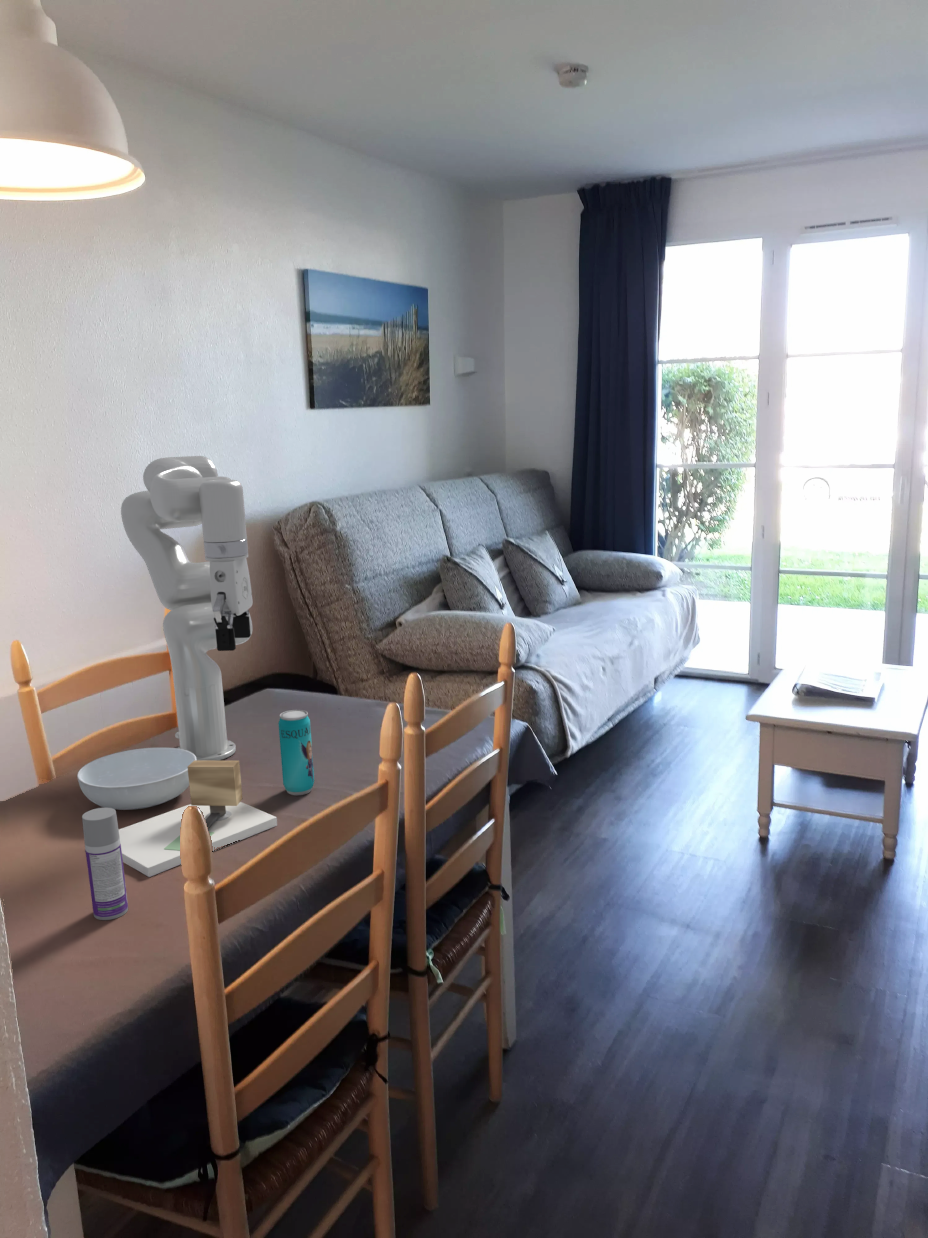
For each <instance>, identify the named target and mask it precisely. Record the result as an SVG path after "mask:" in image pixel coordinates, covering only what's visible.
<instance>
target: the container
mask: <svg viewBox="0 0 928 1238" xmlns="http://www.w3.org/2000/svg"><path fill="white" fill-rule="evenodd" d="M116 810H117V809H113V808H105V807H97V808H94V809H91V810H88V811H86V812H84V813H83V814H82V816H81V819H82V829H83V839H84V851H85V852H84V853H85V858H86V866H87V874H88V881H89V882H88V883H89V891H90V897H91V905H92V912H93V913H92V914H93V917H94V918H95V919H96V920H99V921H111V920H114V919H118V918H120V917H122V916H124V915H125V914H126V913H127V912H128V911H129V903H128V894H127V893H128V892H127V886H126V885H127V884H126V876H125V869H124V862H123V859H122V851H121V843H120V836H119V829H120V828H119V824H118V816H117V811H116Z"/></svg>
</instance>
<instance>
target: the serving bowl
mask: <svg viewBox="0 0 928 1238" xmlns="http://www.w3.org/2000/svg"><path fill="white" fill-rule="evenodd" d="M177 748H178V747H144V748H143V747H142V748H136V749H128V750H124V751H119V752H115V753H111V754H108V755H107V754H106V755H104V756H102V757H101V756H100V757H98V758H96V759H94V760H92V761H90V762H88V763H86V764H85V765H84V766H82V767H81V768H80V769H79V771H78V772H77V777H76V778H77V781H78V785H79V788H80V790H81V791H82V793H83V795H84V796H85V797H86V798H87V799H88V800H89V801H90V802H92V803H94V804H95V805H97V806H99V807H101V808H113V809H115V810H119V811H120V810H121V811H122V810H123V811H125V810H129V811H130V810H141V809H147V808H151V807H155V806H158V805H161V804H164V803H166V802H169V801H171V800H173V799H174V798H176V797H178V796H180V795H181V794H182V793H183V792H185V790H187V789H188V788H189V777H188V766H189V765H190V764H191V763H192V762H193V761H194V760H197V758H196V756H195V755H194V754H193V753H191V752H189V751H186V750H183V749H177Z"/></svg>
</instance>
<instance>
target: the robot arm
mask: <svg viewBox="0 0 928 1238" xmlns="http://www.w3.org/2000/svg"><path fill="white" fill-rule="evenodd" d="M218 474H219V473H218V470H217V468H216V465H215V464H214V462H213V461H212V460H211V459H210V458H208V457H206V456H203V455H187V456H185V455H184V456H169V457H160V458H157V459H154V460H153V461H151V462H150V463H148V465H147V466H145V468H144V471H143V475H142V480H143V484H144V487H145V488H146V490H142V491H141V490H140V491H137V492H134V493H131V494H129V495H127V496H126V497H125V498H124V499H123V500H122V503H121V506H120V515H121V521H122V526H123V529H124V531H125V533H126V536H127V538H128V540H129V542H130V543H131V544H132V546H133V548H134V550H135V551H136V552H137V553H138V554H139V555H140V556H141V559H142V560H143V561H144V563H145V566H146V568H147V571H148V574H149V577H150V578H151V579H150V580H151V581H152V584H153V586H154V589H155V592H156V594H157V597H158V599H159V602H160V603H161V605H162V606H163V607H164V608H165V609H167V610H169V611H168V612H167V613H166V615H165V616H164V617H163V621H162V627H163V628H162V629H163V635H164V638H165V642H166V646H167V650H168V654H169V658H170V663H171V669H172V680H173V688H174V697H175V699H174V700H175V707H176V708H175V709H176V716H177V726H178V731H177V732H175V734H174V736H175V737H174V738H176V739H178V740H179V746H177V747H176V748H177V749H183V750H186V751H189V752H191V753H193V754H194V755H195V756H196V758H197V760H215V761H223V760H224V759H227V758H230V757H231V756H232V755H234V753H235V752H236V750H237V749H236V743H234V742H233V741H231V740H230V739H229V740H228V735H227V734H228V733H227V724H226V713H225V711H226V710H225V702H224V691H223V689H224V688H223V679H222V678H223V677H222V671H221V668H220V666H219V665H218V663H217V662H216V661H215V660H213V658H211V657H210V656H209V655H208V654H207V653H208V652H209V651H210V650H211V651H212V650H215V649H217V651H218V652H226V651H227V652H228V651H229V652H231V651H235V650H236V649H237V645H242V644H244V643H246V642H247V641H249V640H250V638H251V637H252V635H253V621H252V617H251V614H250V611H249V609H250V608H252V606H253V605H254V603H253V602H254V601H253V592H252V584H251V577H250V576H251V575H250V570H249V566H248V559H247V558H249V546H248V535H247V526H246V525H247V524H246V523H247V522H246V511H245V500H244V499H245V497H244V488H243V486H242V483H241V482H240V481H238V480H235V479H231V478H229V477H227V476H219V475H218ZM200 525H201V527H202V538H203V549H204V560H205V561H204V562H203V561H201V562H193V561H190V559H189V558H188V555H187V552H186V550H185V548H184V547H183V546H182V545H181V543H179V542H178V541H177V540H176V539H175V538H173V537H172V536H170V535H169V534H168V533H167V534H166V533H165V532H164V531H161V530H168V529H169V530H170V529H181V528H190V527H196V526H197V527H198V526H200Z"/></svg>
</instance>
